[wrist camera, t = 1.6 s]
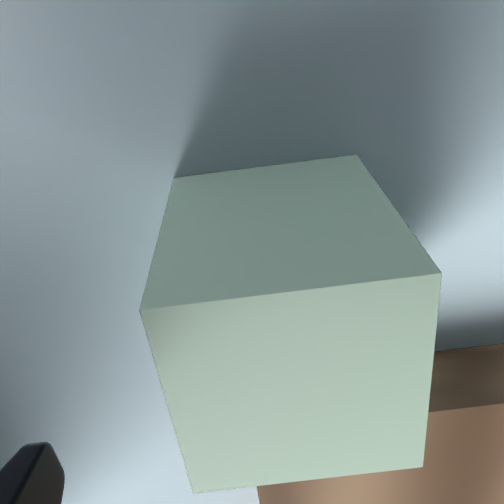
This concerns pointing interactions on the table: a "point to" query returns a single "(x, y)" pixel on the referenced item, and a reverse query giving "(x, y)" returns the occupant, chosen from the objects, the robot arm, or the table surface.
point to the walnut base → (434, 444)
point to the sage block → (291, 325)
